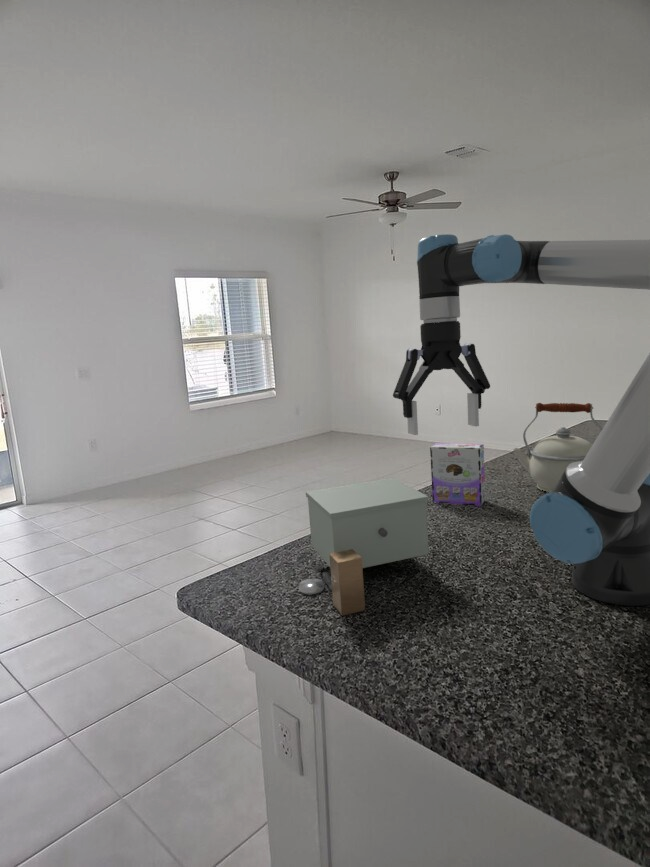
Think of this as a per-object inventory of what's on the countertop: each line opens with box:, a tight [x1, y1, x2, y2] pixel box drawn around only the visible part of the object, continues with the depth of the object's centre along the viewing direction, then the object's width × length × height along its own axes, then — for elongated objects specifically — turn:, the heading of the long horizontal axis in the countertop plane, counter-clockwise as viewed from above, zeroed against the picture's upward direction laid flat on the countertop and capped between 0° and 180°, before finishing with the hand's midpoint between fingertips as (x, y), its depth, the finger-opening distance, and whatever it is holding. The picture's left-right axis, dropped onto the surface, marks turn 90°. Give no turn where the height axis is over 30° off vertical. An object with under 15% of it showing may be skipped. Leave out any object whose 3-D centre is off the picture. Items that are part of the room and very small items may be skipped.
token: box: [298, 578, 325, 595], centre depth 109 cm, size 5×5×1 cm
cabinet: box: [305, 477, 430, 569], centre depth 115 cm, size 18×21×16 cm
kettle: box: [512, 402, 603, 493], centre depth 159 cm, size 25×18×25 cm
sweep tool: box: [322, 549, 366, 617], centre depth 105 cm, size 15×4×10 cm, turn 19°
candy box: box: [429, 442, 486, 507], centre depth 154 cm, size 14×6×16 cm, turn 63°
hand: (443, 429), depth 110 cm, fingers open, 13 cm apart
